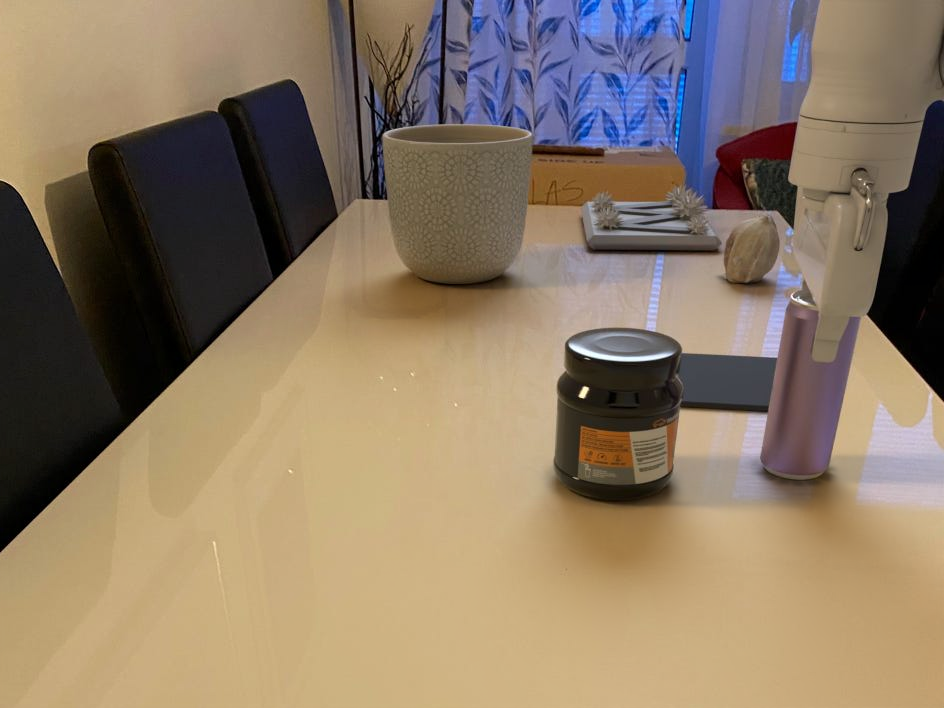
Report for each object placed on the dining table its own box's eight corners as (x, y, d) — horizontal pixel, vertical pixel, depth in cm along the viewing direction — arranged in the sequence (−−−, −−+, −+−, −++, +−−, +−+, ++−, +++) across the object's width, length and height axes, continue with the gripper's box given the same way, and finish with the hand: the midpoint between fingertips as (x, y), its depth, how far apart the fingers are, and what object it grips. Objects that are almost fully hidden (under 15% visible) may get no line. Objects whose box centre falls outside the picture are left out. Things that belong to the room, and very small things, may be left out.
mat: (802, 363, 113) (803, 358, 113) (819, 414, 100) (820, 408, 100) (677, 357, 115) (678, 352, 115) (678, 406, 102) (679, 401, 102)
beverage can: (817, 487, 86) (854, 311, 77) (750, 472, 88) (779, 301, 80) (835, 463, 90) (872, 294, 81) (770, 450, 92) (799, 284, 84)
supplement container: (665, 511, 82) (682, 369, 75) (540, 497, 84) (546, 358, 77) (677, 462, 90) (694, 330, 84) (564, 450, 93) (571, 320, 86)
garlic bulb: (743, 289, 149) (759, 219, 146) (787, 292, 142) (805, 218, 140) (699, 277, 144) (716, 204, 141) (743, 279, 137) (761, 203, 134)
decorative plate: (580, 215, 184) (582, 173, 180) (696, 216, 183) (701, 174, 179) (586, 252, 159) (589, 204, 156) (721, 253, 158) (727, 205, 154)
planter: (361, 272, 149) (353, 131, 138) (470, 252, 159) (470, 120, 149) (443, 301, 135) (441, 148, 125) (557, 278, 146) (563, 134, 135)
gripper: (924, 184, 66) (874, 385, 74) (872, 143, 83) (837, 310, 90) (826, 181, 67) (788, 380, 75) (795, 140, 84) (766, 307, 91)
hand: (814, 341), depth 83 cm, fingers open, 8 cm apart
